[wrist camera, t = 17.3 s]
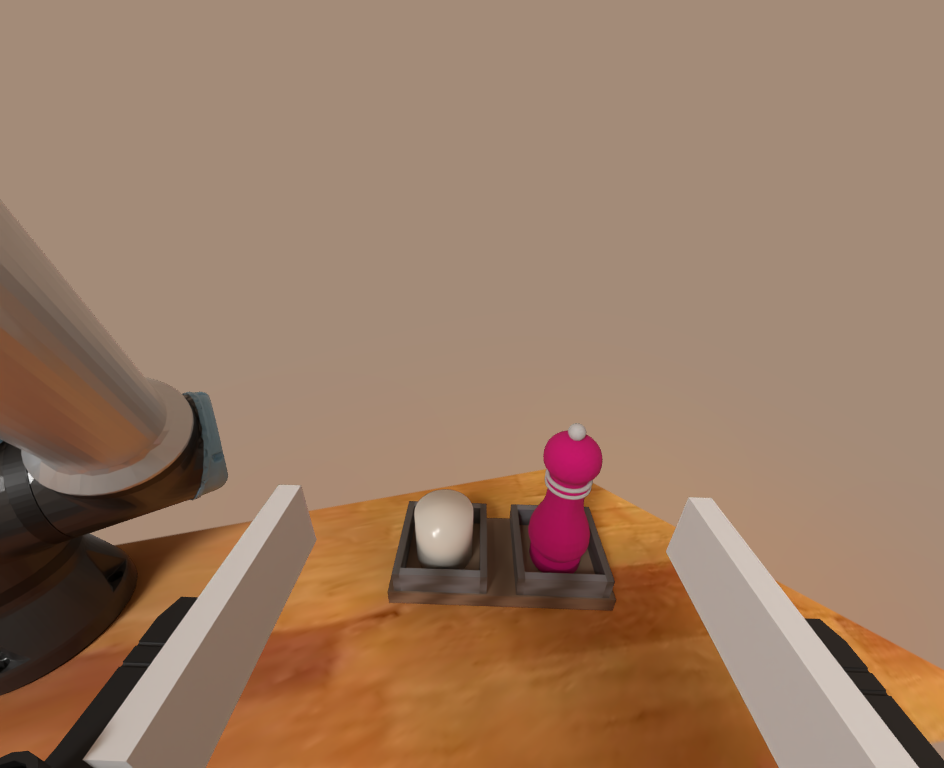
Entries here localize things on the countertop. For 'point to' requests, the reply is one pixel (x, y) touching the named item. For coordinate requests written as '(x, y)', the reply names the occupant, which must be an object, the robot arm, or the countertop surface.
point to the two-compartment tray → (502, 569)
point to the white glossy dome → (444, 530)
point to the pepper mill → (564, 502)
